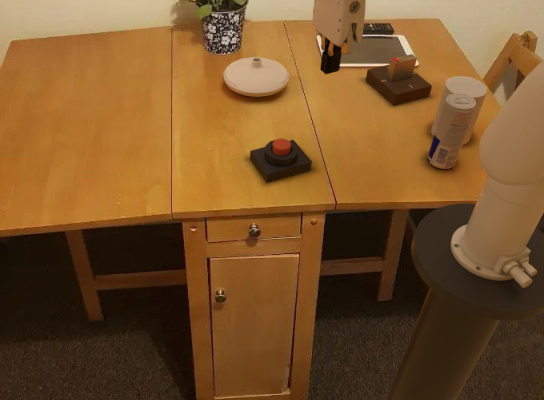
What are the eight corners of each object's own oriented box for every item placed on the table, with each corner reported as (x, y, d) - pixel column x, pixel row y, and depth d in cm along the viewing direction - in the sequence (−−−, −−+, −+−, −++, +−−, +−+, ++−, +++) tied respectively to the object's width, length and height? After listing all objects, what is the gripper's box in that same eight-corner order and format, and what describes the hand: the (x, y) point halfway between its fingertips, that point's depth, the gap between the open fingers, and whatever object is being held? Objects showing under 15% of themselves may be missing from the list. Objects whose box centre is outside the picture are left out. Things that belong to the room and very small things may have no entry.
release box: (292, 147, 123) (294, 132, 120) (311, 170, 118) (313, 154, 115) (249, 159, 120) (250, 143, 118) (266, 182, 115) (267, 167, 112)
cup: (465, 149, 123) (482, 101, 114) (426, 138, 126) (441, 90, 117) (473, 129, 128) (490, 82, 120) (436, 119, 131) (451, 72, 123)
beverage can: (460, 162, 120) (482, 100, 109) (446, 174, 117) (467, 112, 107) (436, 149, 123) (455, 88, 112) (421, 161, 120) (440, 100, 109)
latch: (407, 72, 140) (412, 52, 136) (412, 76, 138) (417, 56, 135) (386, 77, 138) (390, 57, 134) (391, 81, 137) (395, 61, 133)
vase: (280, 67, 147) (282, 41, 142) (294, 101, 136) (297, 75, 131) (219, 71, 146) (219, 45, 141) (228, 106, 134) (228, 80, 129)
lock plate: (429, 96, 138) (432, 84, 135) (393, 105, 135) (396, 94, 132) (399, 71, 146) (402, 60, 143) (365, 80, 143) (367, 68, 141)
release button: (285, 143, 118) (285, 136, 117) (293, 153, 116) (294, 146, 115) (269, 147, 117) (269, 140, 116) (277, 158, 115) (277, 151, 114)
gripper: (387, -14, 93) (369, 85, 106) (337, -45, 103) (326, 49, 116) (347, -6, 91) (333, 95, 103) (300, -39, 101) (292, 57, 113)
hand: (329, 70), depth 109 cm, fingers closed
